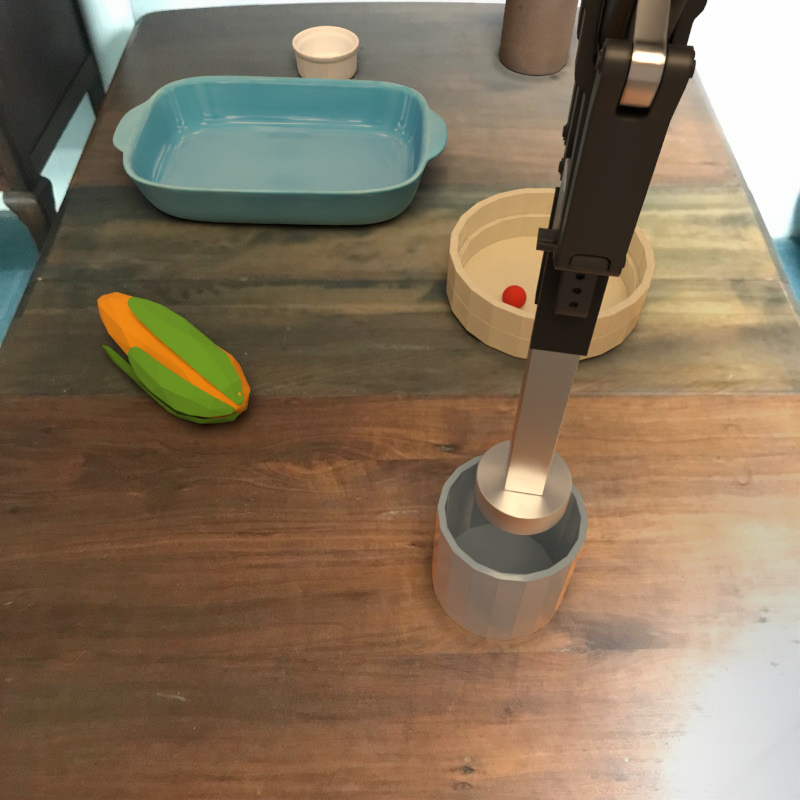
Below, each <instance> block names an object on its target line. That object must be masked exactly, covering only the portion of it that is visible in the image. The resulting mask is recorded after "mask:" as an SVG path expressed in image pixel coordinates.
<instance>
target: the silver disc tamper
mask: <svg viewBox="0 0 800 800" xmlns="http://www.w3.org/2000/svg"><path fill="white" fill-rule="evenodd" d="M570 161H571V158H567V159H566V161H565V166H564V171H563V176H562V181H560V186H559V187H560V191H559V196H558V201H557V207H556V212H555V217H554V222H553V227H552V229H555V230H556V229H557V228H558V223H559V218H560V213H561V208H562V202H563V197H564V192H565V187H566V182H567V176H568V171H569V166H570ZM547 254H548V252H547ZM546 259H547V258H546ZM545 264H546V263H545ZM544 269H545V268H544ZM543 274H544V273H543ZM542 279H543V278H542ZM541 284H542V283H541ZM540 289H541V288H540ZM539 295H540V293H539ZM538 300H539V298H538ZM537 305H538V304H537ZM536 310H537V309H536ZM535 315H536V314H535ZM534 320H535V319H534ZM533 325H534V324H533ZM532 330H533V329H532ZM531 335H532V334H531ZM530 343H531V339H530ZM580 356H581V355H573V354H566V353H559V352H551V351H544V350H536V349H530V344H529V350H528V355H527V359H525V365H524V371H523V376H522V381H521V385H520V391H519V396H518V401H517V405H516V411H515V415H514V416H515V417H514V421H513V427H512V431H511V437H510V439H507V440H504V441H500V442H497V443H496V444H494V445H492V446H490V448H488V449H487V450H486V451H485V452H484V454H482V455H483V456H482V458H481V459H480V461H479V464H478V467H477V471H476V478H475V485H474V497H475V501H476V504H477V507H478V509H479V510H480V512H481V513H482V515H483V516H484V517H485V518H486V519H487V520H488V521H489V522H490V523H491V524H493V525H494V526H496V527H497V528H499V529H501V530H503V531H506V532H509V533H513V534H518V535H532V534H538V533H541V532H544V531H546V530H548V529H550V528H552V527H553V526H554V525H556V524H557V523H558V522H559V521H560V519H561V518H562V517H563V515H564V513H565V511H566V508H567V504H568V501H569V498H570V495H571V492H572V486H573V484H574V483H573V475H572V471H571V469H570V467H569V465H568V463H567V462H566V460H565V459H564V458H563V457H562V455H561V454H559V452H557V451H556V448H557V444H558V440H559V436H560V434H561V430H562V426H563V421H564V418H565V414H566V412H567V407H568V404H569V400H570V396H571V392H572V388H573V385H574V382H575V377H576V376H577V375H576V374H577V370H578V367H579V363H580V361H581V360H580Z"/></svg>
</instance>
